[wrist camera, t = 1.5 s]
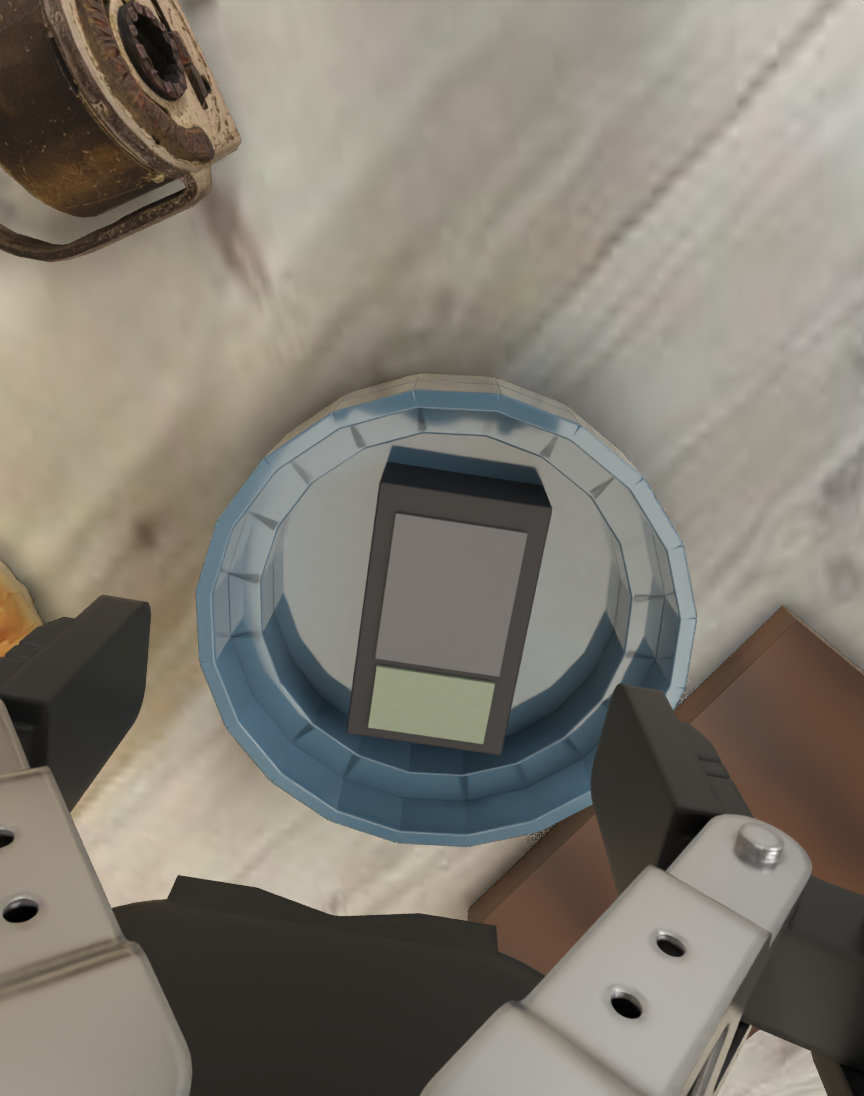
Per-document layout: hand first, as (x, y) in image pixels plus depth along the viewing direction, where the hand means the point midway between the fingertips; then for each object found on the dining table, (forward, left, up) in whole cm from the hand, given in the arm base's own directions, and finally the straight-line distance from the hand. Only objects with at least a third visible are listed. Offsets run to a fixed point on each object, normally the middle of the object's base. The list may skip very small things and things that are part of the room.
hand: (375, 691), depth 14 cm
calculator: (+4, +4, -18) cm, 19 cm away
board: (+6, +22, -19) cm, 29 cm away
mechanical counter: (-1, -17, -19) cm, 25 cm away
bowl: (+4, +4, -19) cm, 19 cm away
